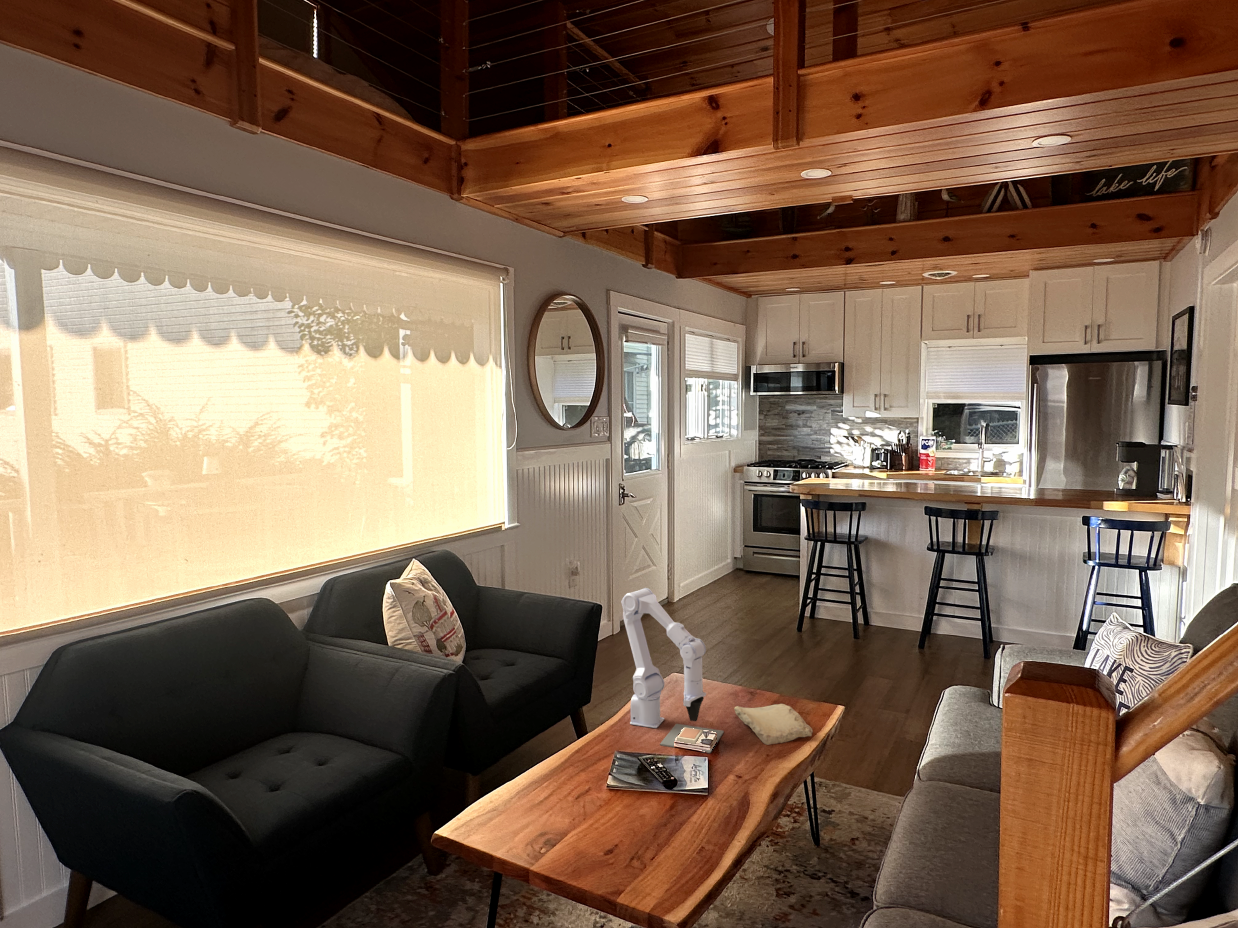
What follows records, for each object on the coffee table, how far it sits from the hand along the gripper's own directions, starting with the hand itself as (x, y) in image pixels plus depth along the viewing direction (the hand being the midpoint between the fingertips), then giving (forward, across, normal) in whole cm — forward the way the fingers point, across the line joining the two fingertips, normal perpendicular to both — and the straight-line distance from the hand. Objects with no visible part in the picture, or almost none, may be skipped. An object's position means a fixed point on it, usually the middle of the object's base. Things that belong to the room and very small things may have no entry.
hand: (693, 720), depth 247 cm
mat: (+5, -1, 0) cm, 6 cm away
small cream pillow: (+6, +15, -21) cm, 27 cm away
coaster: (+4, 0, 0) cm, 4 cm away
